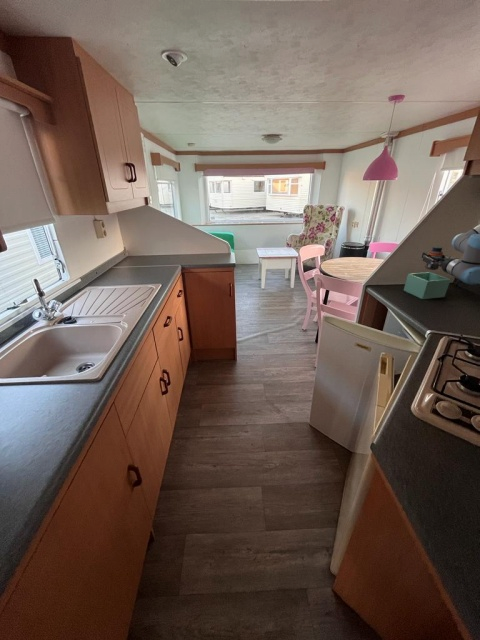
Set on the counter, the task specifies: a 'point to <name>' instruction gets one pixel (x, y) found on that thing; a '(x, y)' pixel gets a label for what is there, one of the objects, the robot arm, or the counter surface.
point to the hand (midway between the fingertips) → (429, 255)
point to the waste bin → (426, 285)
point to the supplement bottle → (435, 253)
